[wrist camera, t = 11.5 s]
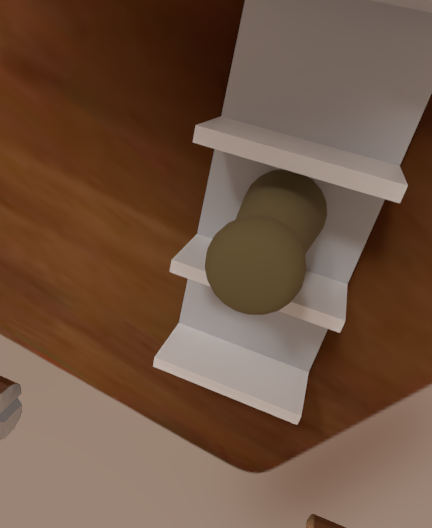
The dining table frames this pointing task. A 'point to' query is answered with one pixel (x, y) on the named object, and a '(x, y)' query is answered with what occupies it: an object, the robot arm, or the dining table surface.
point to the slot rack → (305, 163)
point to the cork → (267, 243)
